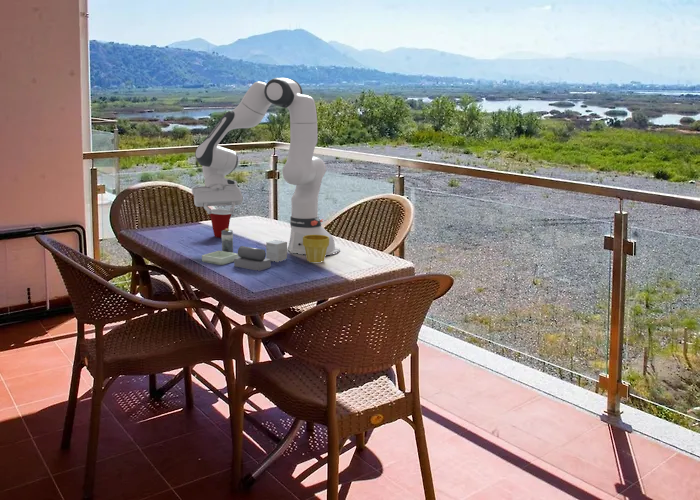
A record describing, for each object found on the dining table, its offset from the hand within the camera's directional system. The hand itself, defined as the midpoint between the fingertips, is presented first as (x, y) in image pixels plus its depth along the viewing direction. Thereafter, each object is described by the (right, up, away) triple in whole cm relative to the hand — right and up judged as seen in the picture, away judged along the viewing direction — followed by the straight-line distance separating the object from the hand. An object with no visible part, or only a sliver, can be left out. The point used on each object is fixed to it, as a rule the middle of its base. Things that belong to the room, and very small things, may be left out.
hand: (221, 212), depth 281 cm
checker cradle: (+17, -22, -25) cm, 37 cm away
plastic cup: (-5, -10, +27) cm, 29 cm away
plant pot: (+40, -20, -15) cm, 47 cm away
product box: (+25, -20, -14) cm, 34 cm away
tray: (+3, -20, -17) cm, 26 cm away
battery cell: (+4, -18, -8) cm, 20 cm away
